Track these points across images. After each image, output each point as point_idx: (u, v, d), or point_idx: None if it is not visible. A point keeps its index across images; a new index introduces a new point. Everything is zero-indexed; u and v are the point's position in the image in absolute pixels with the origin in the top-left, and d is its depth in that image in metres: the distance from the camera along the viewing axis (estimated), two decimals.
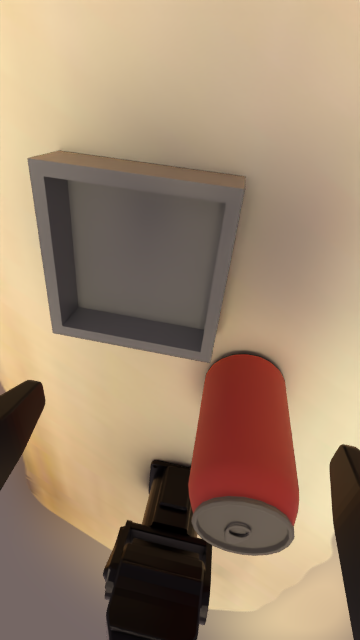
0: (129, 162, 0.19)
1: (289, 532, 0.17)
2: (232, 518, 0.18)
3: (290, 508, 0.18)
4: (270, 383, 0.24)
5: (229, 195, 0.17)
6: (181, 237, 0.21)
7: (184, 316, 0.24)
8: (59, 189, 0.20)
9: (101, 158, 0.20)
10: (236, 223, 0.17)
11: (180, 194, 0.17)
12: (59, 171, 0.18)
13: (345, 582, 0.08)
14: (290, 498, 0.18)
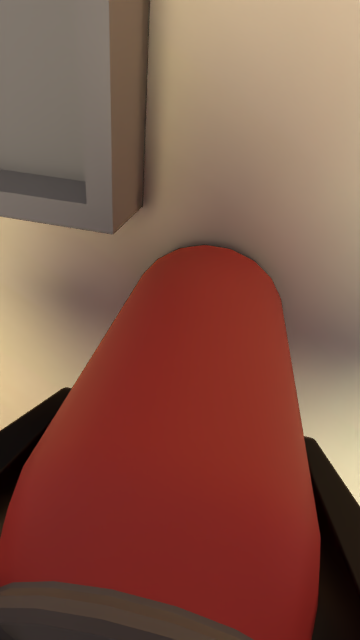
0: None
1: None
2: None
3: (295, 617, 0.05)
4: (248, 286, 0.11)
5: None
6: None
7: (72, 152, 0.12)
8: None
9: None
10: None
11: None
12: None
13: None
14: (295, 579, 0.05)
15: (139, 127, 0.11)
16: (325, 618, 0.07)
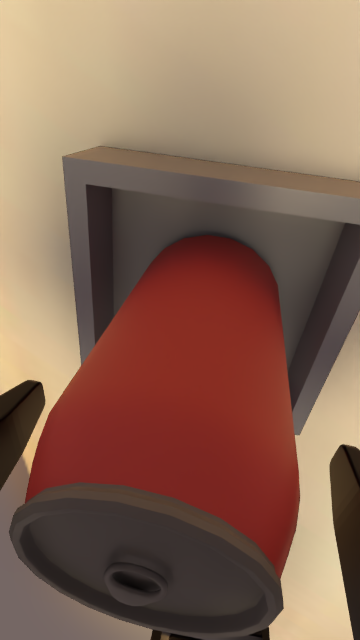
0: (205, 163, 0.13)
1: (268, 596, 0.06)
2: (112, 546, 0.07)
3: (272, 521, 0.06)
4: (245, 270, 0.12)
5: None
6: None
7: None
8: (102, 201, 0.14)
9: (164, 157, 0.14)
10: None
11: (300, 212, 0.11)
12: (110, 176, 0.12)
13: (345, 582, 0.08)
14: (272, 492, 0.06)
15: None
16: None
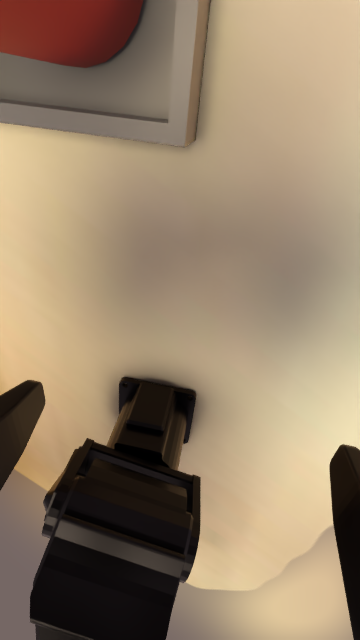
0: None
1: None
2: None
3: None
4: None
5: None
6: None
7: (148, 94, 0.16)
8: None
9: None
10: None
11: None
12: None
13: (345, 582, 0.08)
14: None
15: (200, 73, 0.15)
16: None
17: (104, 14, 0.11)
